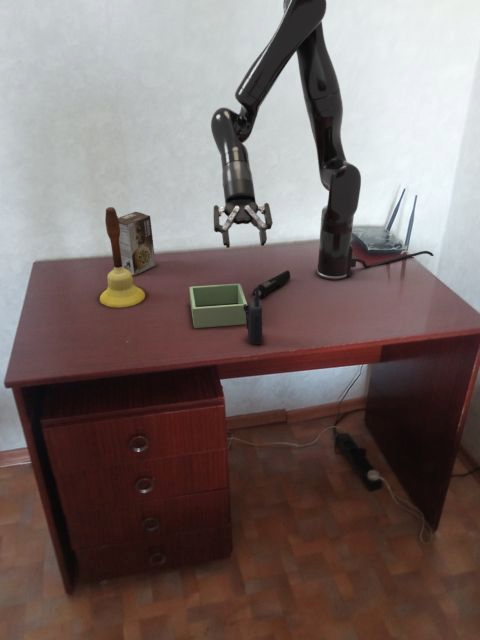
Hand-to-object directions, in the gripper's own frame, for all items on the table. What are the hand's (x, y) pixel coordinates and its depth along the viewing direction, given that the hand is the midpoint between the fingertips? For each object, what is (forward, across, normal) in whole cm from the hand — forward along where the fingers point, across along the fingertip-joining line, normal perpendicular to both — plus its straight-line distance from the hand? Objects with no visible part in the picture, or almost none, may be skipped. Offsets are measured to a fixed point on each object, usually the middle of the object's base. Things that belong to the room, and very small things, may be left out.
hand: (245, 245), depth 133 cm
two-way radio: (+23, 0, +5) cm, 23 cm away
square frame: (+12, -7, +15) cm, 21 cm away
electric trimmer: (+3, +10, +25) cm, 27 cm away
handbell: (+3, -32, +25) cm, 41 cm away
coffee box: (-11, -28, +39) cm, 49 cm away
